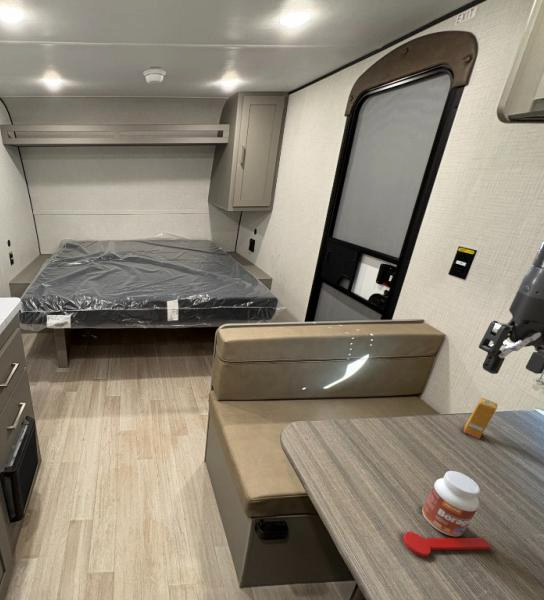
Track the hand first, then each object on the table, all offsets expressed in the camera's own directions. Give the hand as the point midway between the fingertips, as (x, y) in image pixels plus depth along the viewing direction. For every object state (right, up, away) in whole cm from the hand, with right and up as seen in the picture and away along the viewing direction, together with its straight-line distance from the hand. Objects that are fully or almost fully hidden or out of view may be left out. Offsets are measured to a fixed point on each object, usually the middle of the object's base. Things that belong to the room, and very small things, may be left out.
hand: (511, 371), depth 62 cm
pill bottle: (-13, -30, +1) cm, 33 cm away
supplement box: (+16, -22, +22) cm, 35 cm away
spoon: (-16, -32, -3) cm, 35 cm away
